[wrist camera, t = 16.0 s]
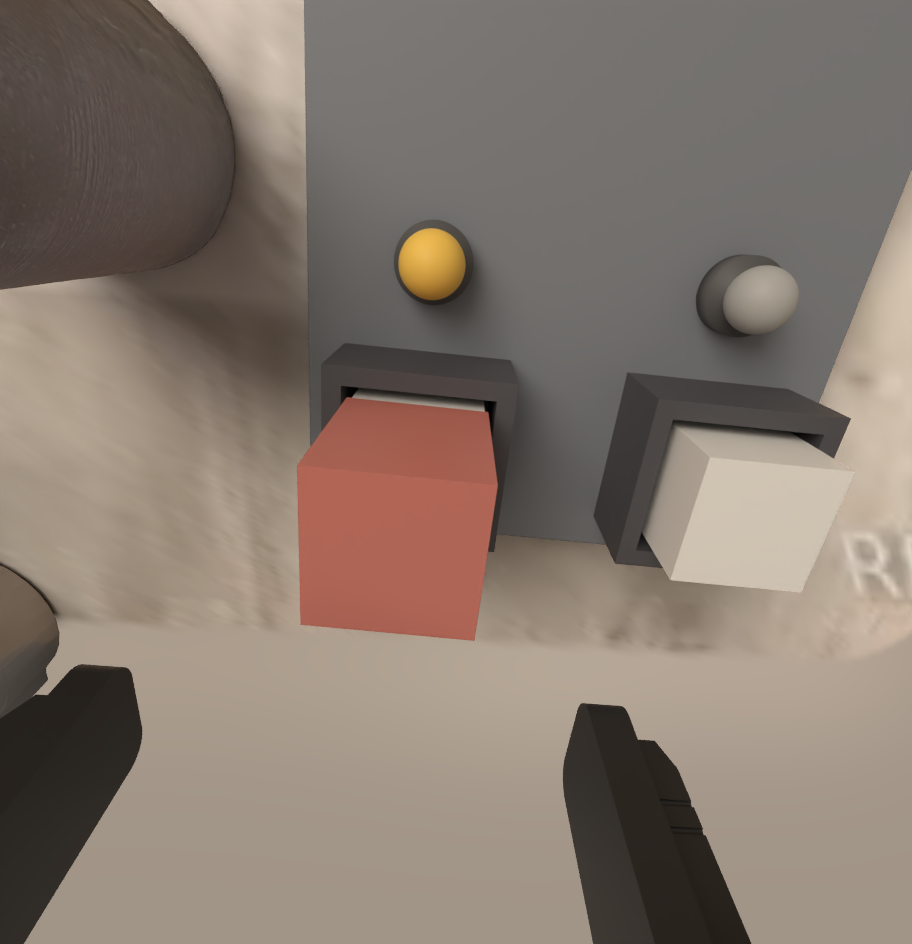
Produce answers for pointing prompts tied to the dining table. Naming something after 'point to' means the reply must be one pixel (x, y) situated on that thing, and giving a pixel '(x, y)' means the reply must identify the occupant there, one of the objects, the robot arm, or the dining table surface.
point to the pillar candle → (105, 142)
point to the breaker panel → (598, 224)
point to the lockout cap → (396, 519)
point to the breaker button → (742, 506)
